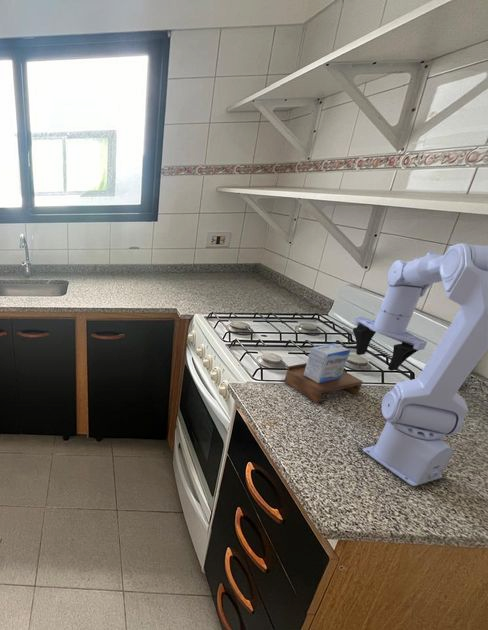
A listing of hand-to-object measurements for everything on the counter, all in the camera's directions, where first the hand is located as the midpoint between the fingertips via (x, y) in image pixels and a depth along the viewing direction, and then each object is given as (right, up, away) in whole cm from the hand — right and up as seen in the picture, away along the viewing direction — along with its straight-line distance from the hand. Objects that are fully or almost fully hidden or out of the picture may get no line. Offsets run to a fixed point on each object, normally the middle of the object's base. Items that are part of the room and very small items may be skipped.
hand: (375, 361), depth 87 cm
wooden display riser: (-9, -8, +7) cm, 14 cm away
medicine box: (-10, -5, +5) cm, 12 cm away
